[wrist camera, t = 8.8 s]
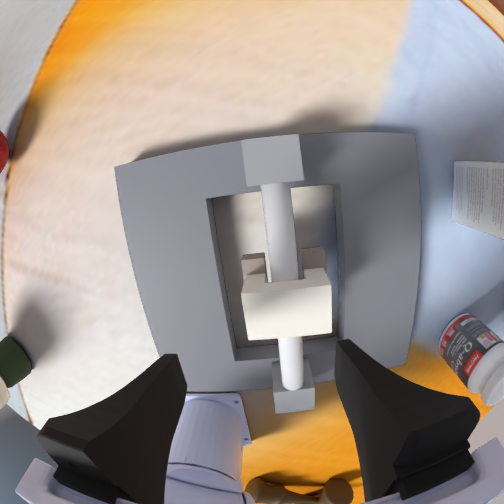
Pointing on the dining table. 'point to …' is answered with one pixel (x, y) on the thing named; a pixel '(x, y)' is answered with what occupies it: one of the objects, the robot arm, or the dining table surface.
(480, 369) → the pill bottle
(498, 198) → the small box
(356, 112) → the dining table surface
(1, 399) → the character mug
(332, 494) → the kendama
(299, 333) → the white notched u-block
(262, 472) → the dining table surface
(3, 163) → the onion
